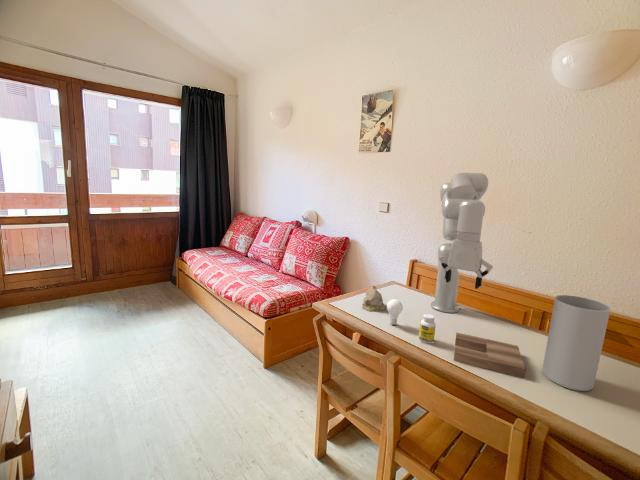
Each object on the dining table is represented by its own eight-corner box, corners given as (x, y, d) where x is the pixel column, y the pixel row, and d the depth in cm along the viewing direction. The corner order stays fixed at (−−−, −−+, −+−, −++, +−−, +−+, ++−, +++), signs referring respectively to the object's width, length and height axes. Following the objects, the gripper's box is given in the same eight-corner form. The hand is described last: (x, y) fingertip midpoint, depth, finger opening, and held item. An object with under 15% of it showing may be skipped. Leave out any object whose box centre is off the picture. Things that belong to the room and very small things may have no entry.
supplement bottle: (418, 341, 115) (420, 317, 113) (419, 335, 120) (421, 311, 118) (433, 345, 113) (436, 320, 111) (433, 338, 118) (436, 314, 116)
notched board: (455, 339, 117) (456, 332, 117) (516, 353, 109) (517, 345, 109) (453, 360, 103) (454, 352, 103) (523, 378, 95) (525, 369, 94)
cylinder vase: (578, 396, 87) (595, 313, 83) (532, 371, 98) (546, 297, 94) (602, 386, 92) (619, 308, 88) (556, 364, 103) (570, 293, 99)
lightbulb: (395, 329, 124) (397, 303, 122) (382, 323, 129) (384, 298, 127) (404, 325, 128) (406, 300, 126) (391, 319, 133) (393, 295, 131)
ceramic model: (387, 312, 141) (389, 291, 139) (363, 311, 141) (364, 290, 139) (381, 300, 155) (382, 281, 153) (359, 300, 155) (360, 281, 153)
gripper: (438, 234, 108) (433, 281, 111) (494, 241, 97) (486, 293, 100) (445, 232, 114) (440, 277, 117) (498, 239, 103) (491, 288, 106)
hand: (462, 284), depth 109 cm, fingers open, 9 cm apart
